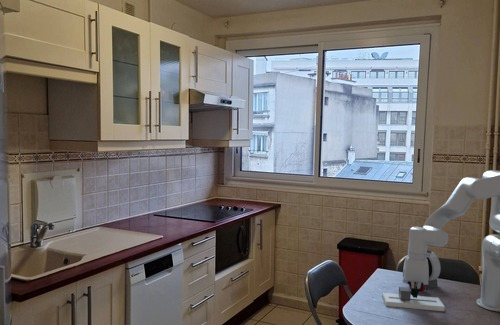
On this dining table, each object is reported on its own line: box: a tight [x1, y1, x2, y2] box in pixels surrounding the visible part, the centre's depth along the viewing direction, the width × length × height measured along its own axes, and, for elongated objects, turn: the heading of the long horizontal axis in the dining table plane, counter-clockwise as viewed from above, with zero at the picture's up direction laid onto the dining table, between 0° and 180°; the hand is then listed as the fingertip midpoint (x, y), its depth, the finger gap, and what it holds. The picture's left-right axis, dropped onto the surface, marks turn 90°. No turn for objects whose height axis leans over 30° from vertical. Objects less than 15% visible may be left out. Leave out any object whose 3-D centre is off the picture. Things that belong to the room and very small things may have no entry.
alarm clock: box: [425, 247, 442, 289], centre depth 208 cm, size 16×10×18 cm, turn 28°
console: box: [381, 292, 446, 312], centre depth 182 cm, size 24×10×2 cm, turn 80°
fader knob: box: [398, 286, 411, 300], centre depth 183 cm, size 4×5×4 cm
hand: (414, 296), depth 182 cm, fingers closed
